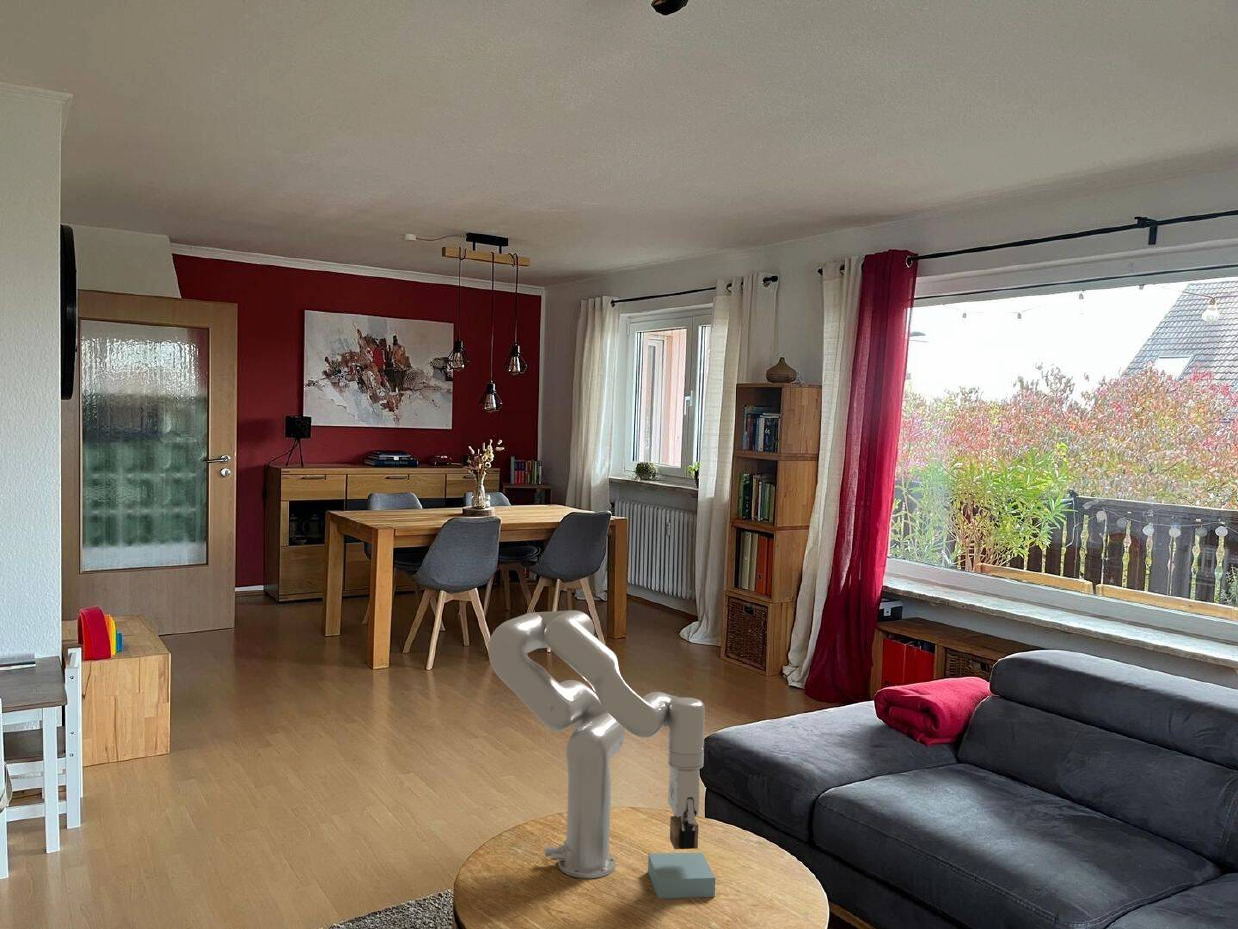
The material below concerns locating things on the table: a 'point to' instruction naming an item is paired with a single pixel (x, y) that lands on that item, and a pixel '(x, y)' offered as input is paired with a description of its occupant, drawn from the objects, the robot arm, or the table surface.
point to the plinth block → (681, 875)
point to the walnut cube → (674, 831)
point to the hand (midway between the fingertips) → (683, 841)
